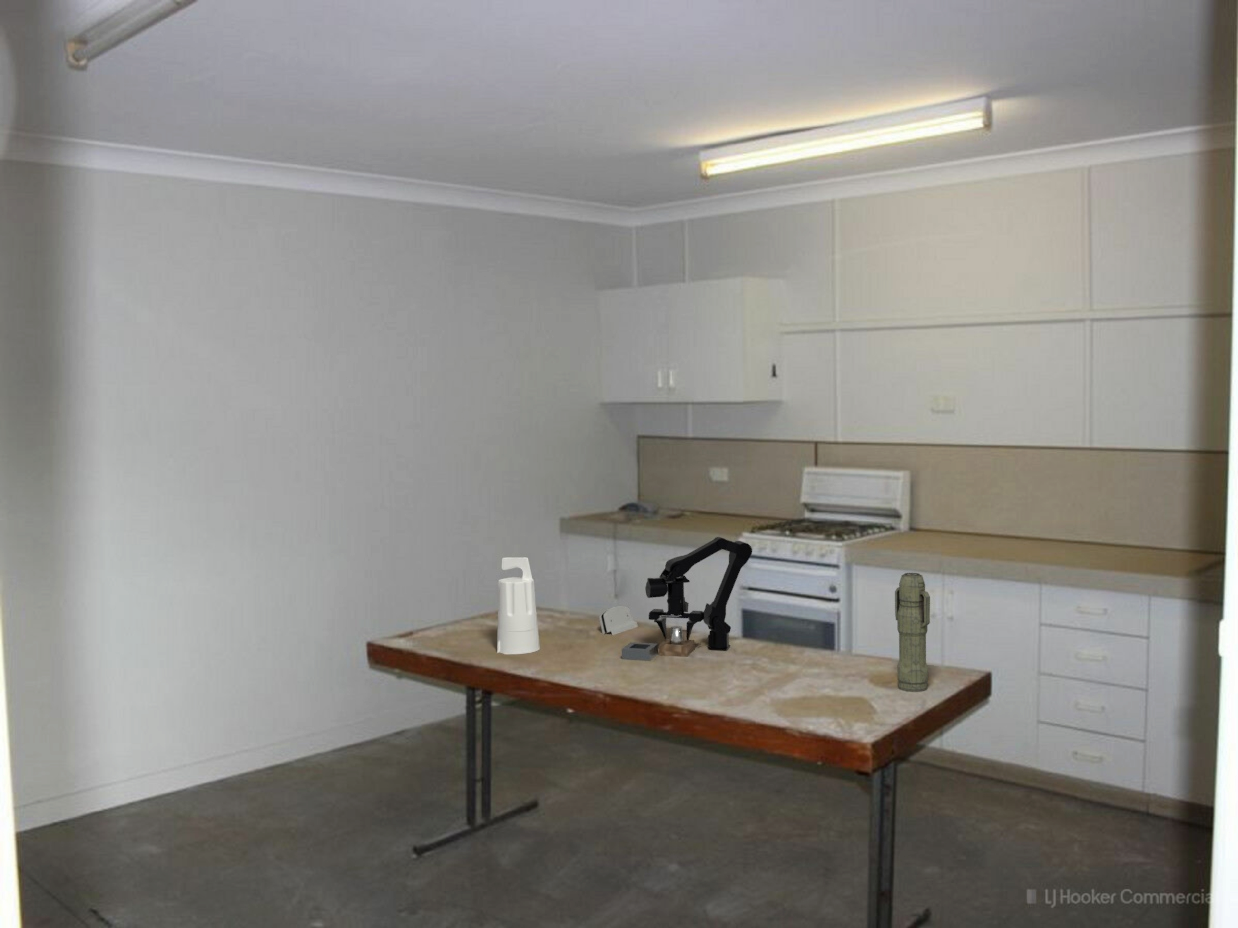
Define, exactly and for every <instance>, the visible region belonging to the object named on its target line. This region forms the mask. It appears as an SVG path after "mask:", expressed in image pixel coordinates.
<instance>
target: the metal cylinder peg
mask: <svg viewBox="0 0 1238 928" xmlns="http://www.w3.org/2000/svg"><path fill="white" fill-rule="evenodd" d="M670 639H671V644H672V645H683V626H681V625H673V626H670Z"/></svg>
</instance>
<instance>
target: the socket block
mask: <svg viewBox="0 0 1238 928" xmlns="http://www.w3.org/2000/svg"><path fill="white" fill-rule="evenodd" d="M695 644H696V643H695V639H689V640H687V639H683V645H672V644H671V638H667V639H664V640H663V641H662V642H661V643H660V644H658V655H659V656H670V657H683V658H685V657H688V656H690V655H691V654H692V653H693V652H694V651H695V649H696V648H695V647H696V646H695Z"/></svg>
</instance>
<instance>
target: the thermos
mask: <svg viewBox="0 0 1238 928" xmlns="http://www.w3.org/2000/svg"><path fill="white" fill-rule="evenodd" d="M898 585H899V586H898V587H896V589H895V591H894V615H895V621H897V631H898V645H899V647H898V648H899V649H898V658H899V660H898V663H897V680H898V685H897V687H898V689H899V690H901V691H905V692H912V693H913V692H914V693H916V692H918V693H919V692H920V693H921V692H924V691H928V680H929V667H928V666H929V665H928V664H927V633H928V625H929V624H931V618H930V613H931V612H930V611H931V609H930V608H931V595H930V594H929V592H928V591H926V583H925V579H924V577H923V574H920V573H918V572H905V573H904V574H901V577H900V580H899V584H898Z"/></svg>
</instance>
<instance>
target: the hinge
mask: <svg viewBox="0 0 1238 928" xmlns="http://www.w3.org/2000/svg"><path fill="white" fill-rule="evenodd" d="M598 619H599V622H600V627H601V633H602V634H603V635H604V634H607V633H611V635H612V636H615V635H618V634H620V633H623V632H627V631H630V630H632V629H636V628H638V627H639V625H638V623H637V621H635V620H634V617H633V615H632V613H631V610H630V608H629V607H628V606H625V605H618V606H613V607H610V608H608V609H605V610H604V611H603V612H601V614H600V615H599V616H598Z"/></svg>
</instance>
